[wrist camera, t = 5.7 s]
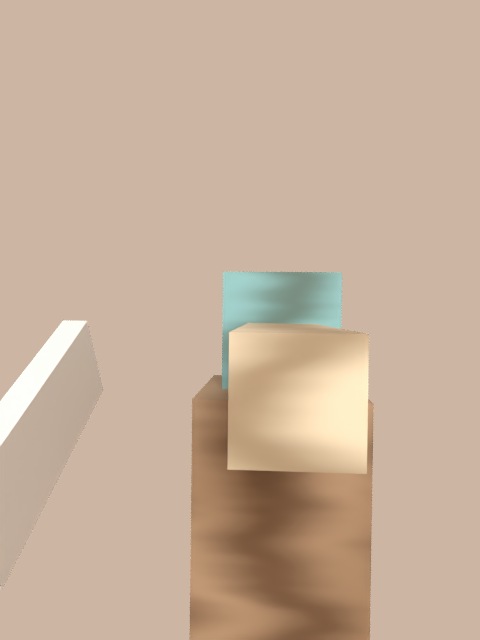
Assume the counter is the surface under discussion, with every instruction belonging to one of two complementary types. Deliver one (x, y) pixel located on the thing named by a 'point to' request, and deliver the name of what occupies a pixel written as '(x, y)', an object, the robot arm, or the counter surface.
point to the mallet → (293, 375)
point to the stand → (275, 542)
